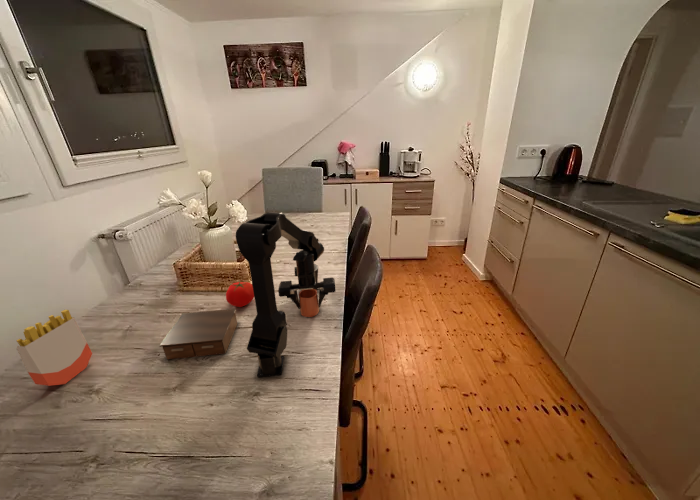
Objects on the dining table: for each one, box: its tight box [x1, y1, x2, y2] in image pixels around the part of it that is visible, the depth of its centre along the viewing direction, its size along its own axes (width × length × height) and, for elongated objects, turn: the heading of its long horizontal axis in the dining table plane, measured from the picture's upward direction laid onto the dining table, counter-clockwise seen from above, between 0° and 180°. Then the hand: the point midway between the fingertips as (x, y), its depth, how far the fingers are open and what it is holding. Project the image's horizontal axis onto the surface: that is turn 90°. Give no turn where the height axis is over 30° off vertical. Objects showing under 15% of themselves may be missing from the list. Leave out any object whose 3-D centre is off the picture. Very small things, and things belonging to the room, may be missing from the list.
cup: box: [298, 289, 320, 318], centre depth 97 cm, size 6×6×8 cm
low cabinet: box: [159, 308, 238, 360], centre depth 85 cm, size 15×17×6 cm
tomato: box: [225, 281, 255, 308], centre depth 103 cm, size 9×10×8 cm
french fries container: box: [16, 309, 93, 387], centre depth 72 cm, size 5×11×18 cm, turn 171°
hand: (309, 307), depth 98 cm, fingers open, 7 cm apart
